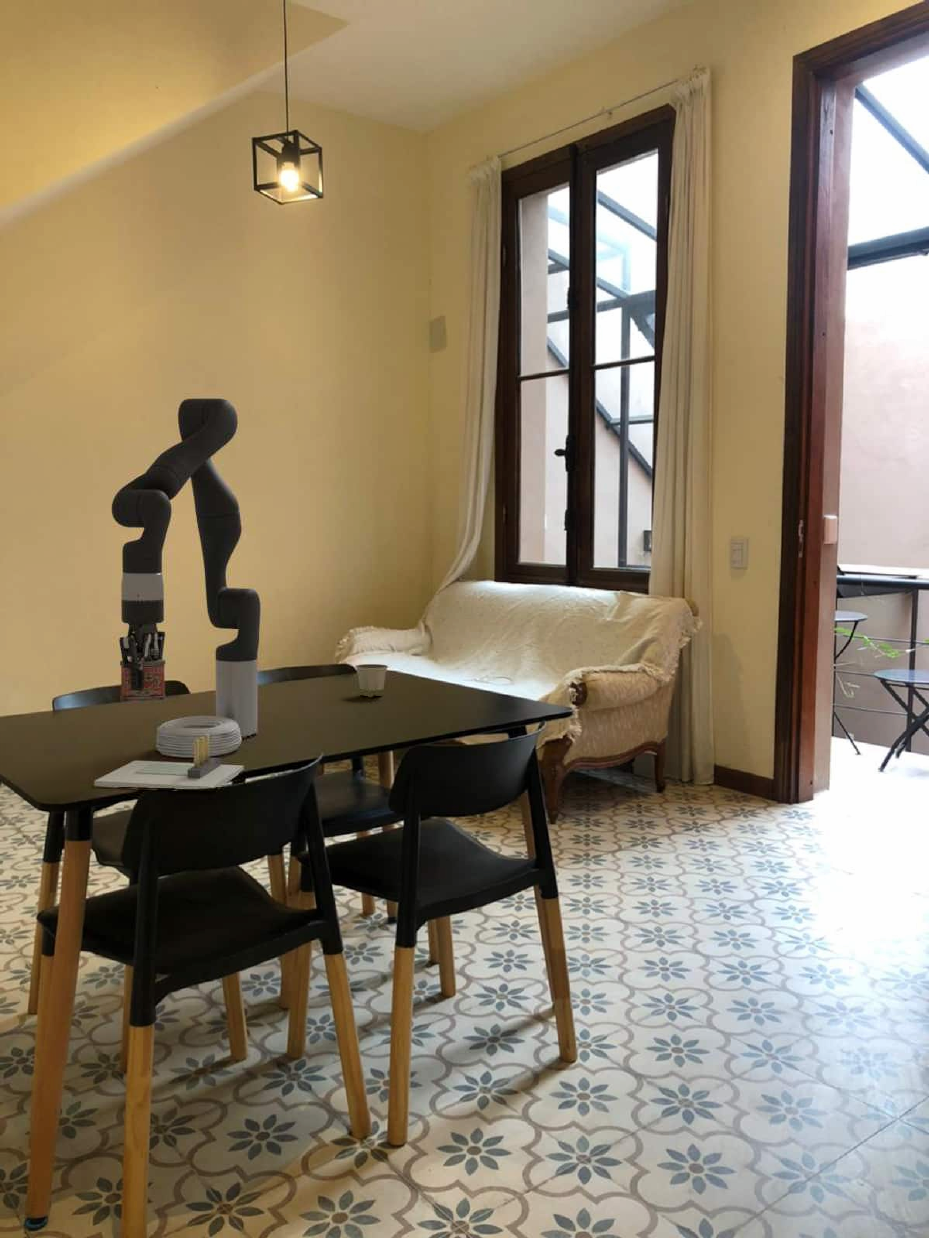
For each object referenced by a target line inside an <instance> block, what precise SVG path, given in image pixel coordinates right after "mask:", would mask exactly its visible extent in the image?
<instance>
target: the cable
mask: <svg viewBox="0 0 929 1238" xmlns="http://www.w3.org/2000/svg"><path fill="white" fill-rule="evenodd" d="M156 730H157V731H156V740H155V741H156V744H155V747H156V750H157V751H158V752H160V754H161V755H163V756H168V757H176V758H190V759H191V758H193V759H194V740H199V737H204V735H205V734H209V757H215V756H220V755H223V754H230V753H233V752H235V751H236V750H237V749H238V748H239V746H241V744H242V740H243V738H242V737H241V735H240V729H239V727H238V724H237V723H236V722H235V721H234V720H232V719H229V718H224V717H217V716H216V715H193V716H186V717H180V718H176V719H173V720H172V719H171V720H169V721H166V722H164V723H162V724H161V725H160V726H158V727H157V729H156Z"/></svg>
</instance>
